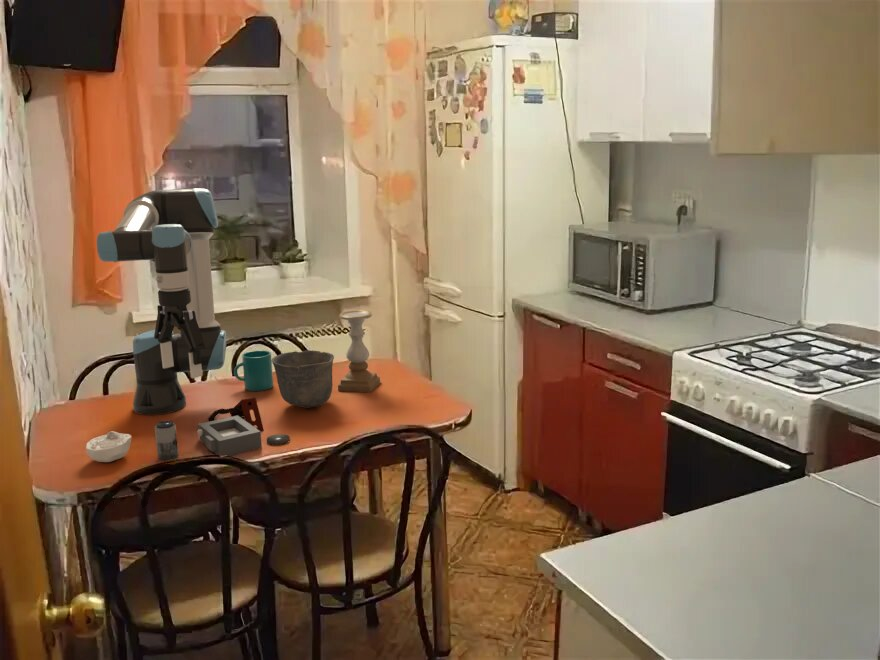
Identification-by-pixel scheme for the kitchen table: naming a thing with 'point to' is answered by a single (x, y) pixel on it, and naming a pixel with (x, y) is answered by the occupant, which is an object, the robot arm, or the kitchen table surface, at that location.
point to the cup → (256, 370)
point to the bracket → (243, 412)
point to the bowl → (304, 377)
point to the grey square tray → (229, 436)
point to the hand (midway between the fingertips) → (182, 372)
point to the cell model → (108, 447)
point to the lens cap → (278, 439)
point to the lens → (166, 440)
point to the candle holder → (357, 356)
